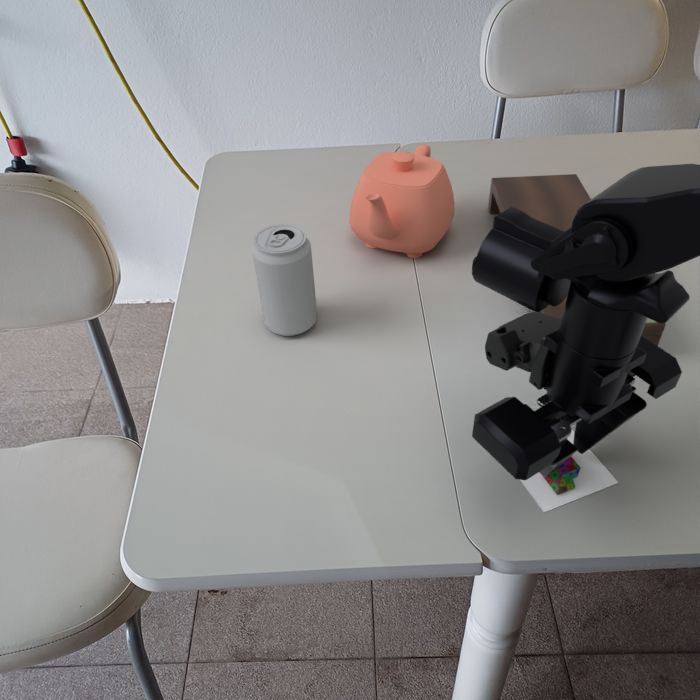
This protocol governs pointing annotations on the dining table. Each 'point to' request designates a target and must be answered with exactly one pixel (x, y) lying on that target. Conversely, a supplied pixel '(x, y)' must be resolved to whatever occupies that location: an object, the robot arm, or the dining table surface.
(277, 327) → the beverage can
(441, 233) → the teapot
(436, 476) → the dining table surface
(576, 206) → the shelf
